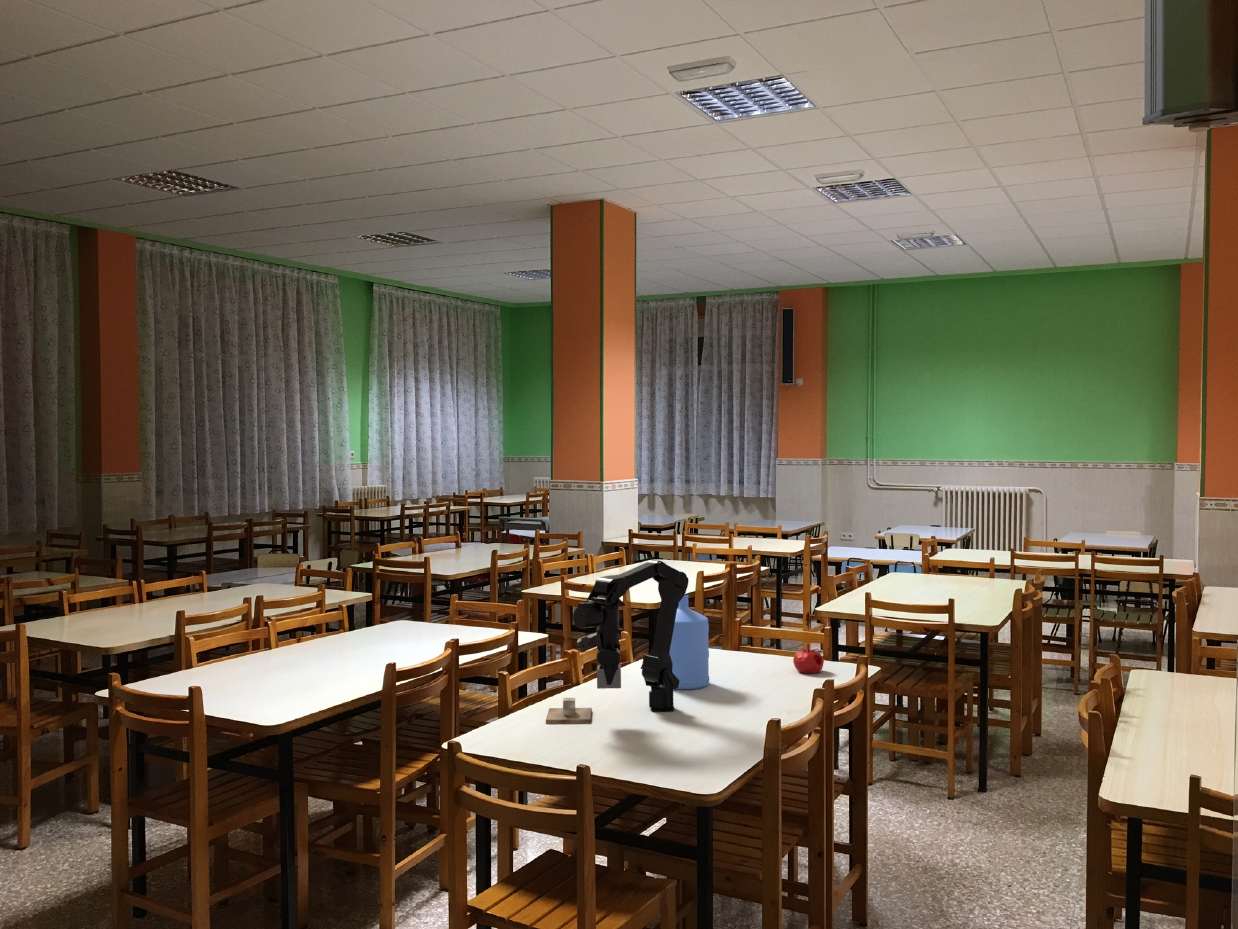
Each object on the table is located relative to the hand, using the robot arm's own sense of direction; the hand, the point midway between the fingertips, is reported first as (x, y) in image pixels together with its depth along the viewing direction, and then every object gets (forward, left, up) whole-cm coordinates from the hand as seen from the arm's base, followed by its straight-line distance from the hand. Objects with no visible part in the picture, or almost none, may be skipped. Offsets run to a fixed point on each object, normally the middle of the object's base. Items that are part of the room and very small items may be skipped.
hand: (609, 681), depth 263 cm
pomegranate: (-65, -59, -11) cm, 88 cm away
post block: (+11, -6, -11) cm, 17 cm away
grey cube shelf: (0, 0, -1) cm, 1 cm away
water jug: (-23, -43, -11) cm, 50 cm away
